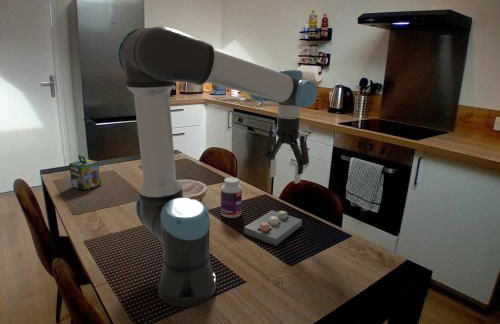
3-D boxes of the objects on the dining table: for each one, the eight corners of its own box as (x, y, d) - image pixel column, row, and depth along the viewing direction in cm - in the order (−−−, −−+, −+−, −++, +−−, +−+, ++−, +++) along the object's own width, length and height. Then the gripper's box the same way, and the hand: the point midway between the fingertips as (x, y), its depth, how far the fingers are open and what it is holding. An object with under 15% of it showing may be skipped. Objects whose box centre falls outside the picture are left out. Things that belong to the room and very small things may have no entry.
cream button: (275, 228, 121) (275, 221, 121) (267, 225, 123) (267, 218, 122) (279, 225, 124) (280, 217, 123) (272, 222, 126) (272, 215, 125)
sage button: (283, 222, 126) (284, 215, 125) (276, 219, 128) (276, 212, 127) (288, 219, 129) (288, 212, 128) (280, 216, 130) (281, 210, 130)
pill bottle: (238, 220, 130) (239, 184, 126) (218, 217, 132) (218, 182, 128) (243, 211, 138) (244, 177, 134) (224, 209, 139) (224, 175, 135)
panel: (275, 245, 114) (276, 239, 113) (244, 233, 121) (244, 227, 120) (301, 225, 128) (301, 219, 127) (271, 216, 135) (271, 210, 134)
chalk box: (101, 185, 160) (98, 154, 156) (83, 191, 153) (80, 159, 148) (89, 181, 165) (86, 151, 160) (71, 187, 157) (67, 155, 153)
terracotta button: (265, 234, 117) (266, 227, 116) (258, 232, 119) (258, 224, 118) (270, 231, 119) (271, 223, 118) (263, 228, 121) (263, 221, 120)
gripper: (323, 119, 114) (317, 183, 121) (267, 112, 126) (264, 170, 133) (313, 122, 108) (307, 189, 115) (255, 114, 120) (253, 175, 127)
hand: (284, 179), depth 124 cm, fingers open, 9 cm apart
